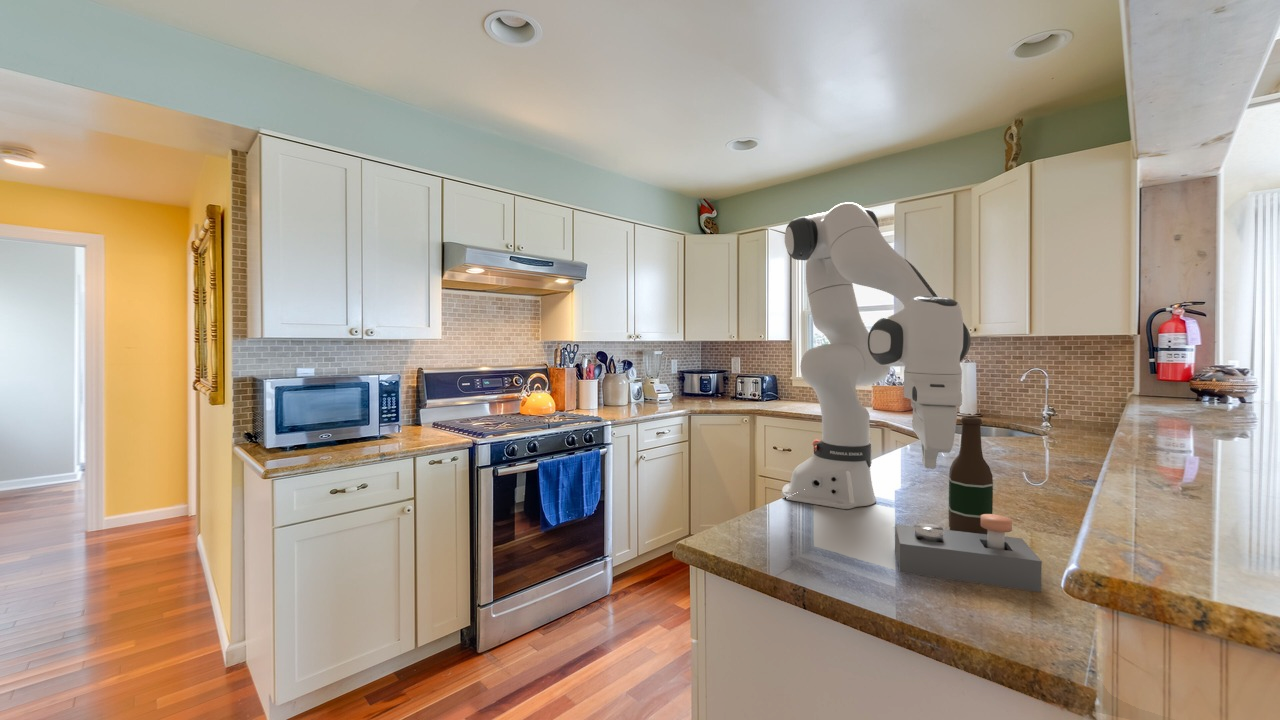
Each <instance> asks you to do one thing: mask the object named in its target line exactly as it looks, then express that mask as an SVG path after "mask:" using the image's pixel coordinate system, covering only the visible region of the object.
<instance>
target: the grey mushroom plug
mask: <svg viewBox="0 0 1280 720" xmlns="http://www.w3.org/2000/svg"><path fill="white" fill-rule="evenodd" d="M914 526H915V536H916V537H918V538H920V539H921V540H925V541H933V542H937V541H942V540H943V530H944V528H942V526H939V525H937V524H932V523H923V522H920V523H916V524H915V525H914Z"/></svg>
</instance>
